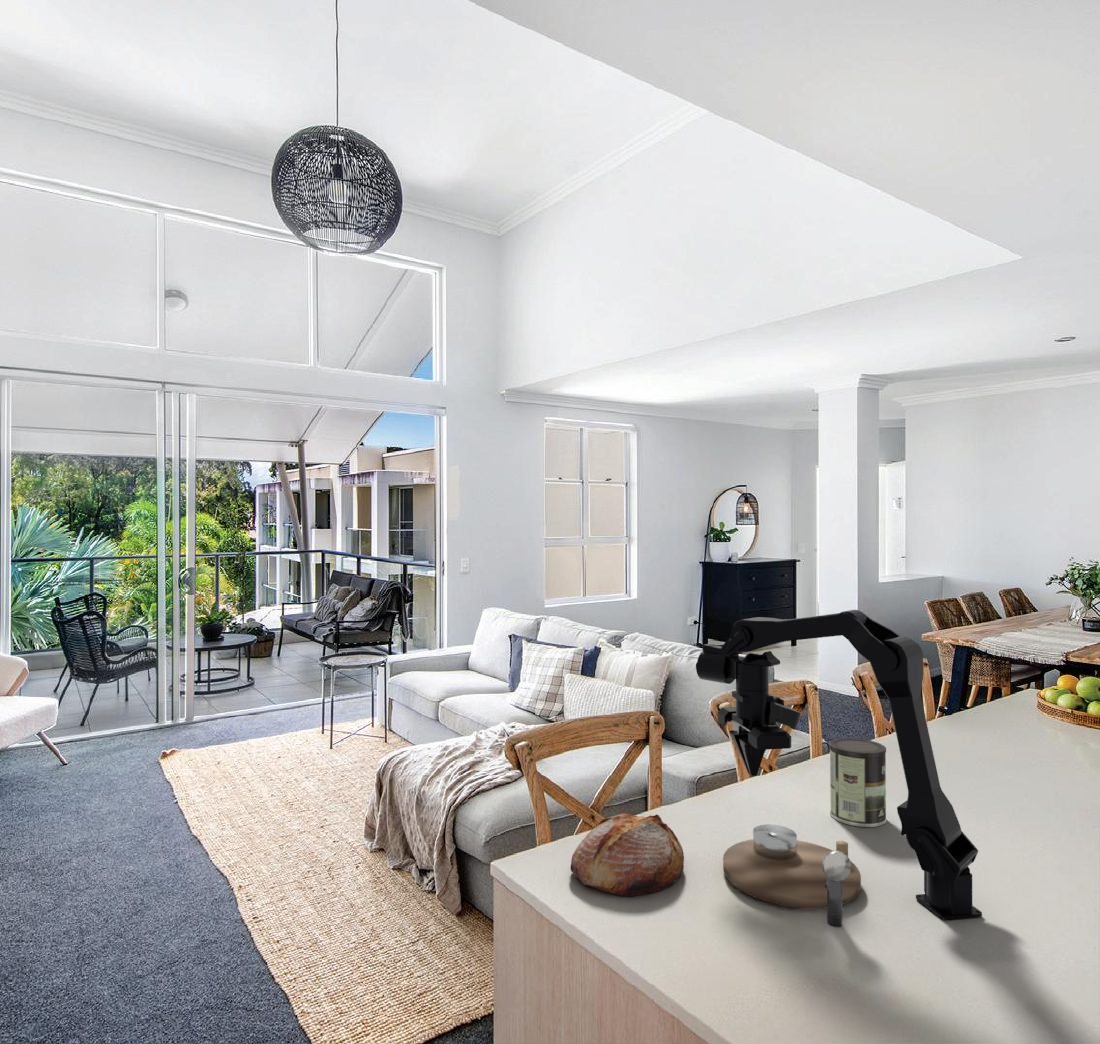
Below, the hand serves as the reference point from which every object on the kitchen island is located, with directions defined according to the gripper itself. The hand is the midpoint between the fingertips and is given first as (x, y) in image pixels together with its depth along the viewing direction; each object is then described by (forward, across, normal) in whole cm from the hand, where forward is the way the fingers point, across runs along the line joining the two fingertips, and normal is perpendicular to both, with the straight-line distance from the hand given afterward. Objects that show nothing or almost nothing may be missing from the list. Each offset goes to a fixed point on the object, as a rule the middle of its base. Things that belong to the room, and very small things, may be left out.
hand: (752, 774), depth 134 cm
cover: (+10, -9, 0) cm, 13 cm away
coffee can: (+12, +8, -25) cm, 29 cm away
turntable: (+12, -14, 0) cm, 19 cm away
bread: (+12, -8, +25) cm, 29 cm away
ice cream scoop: (+12, -28, 0) cm, 30 cm away
